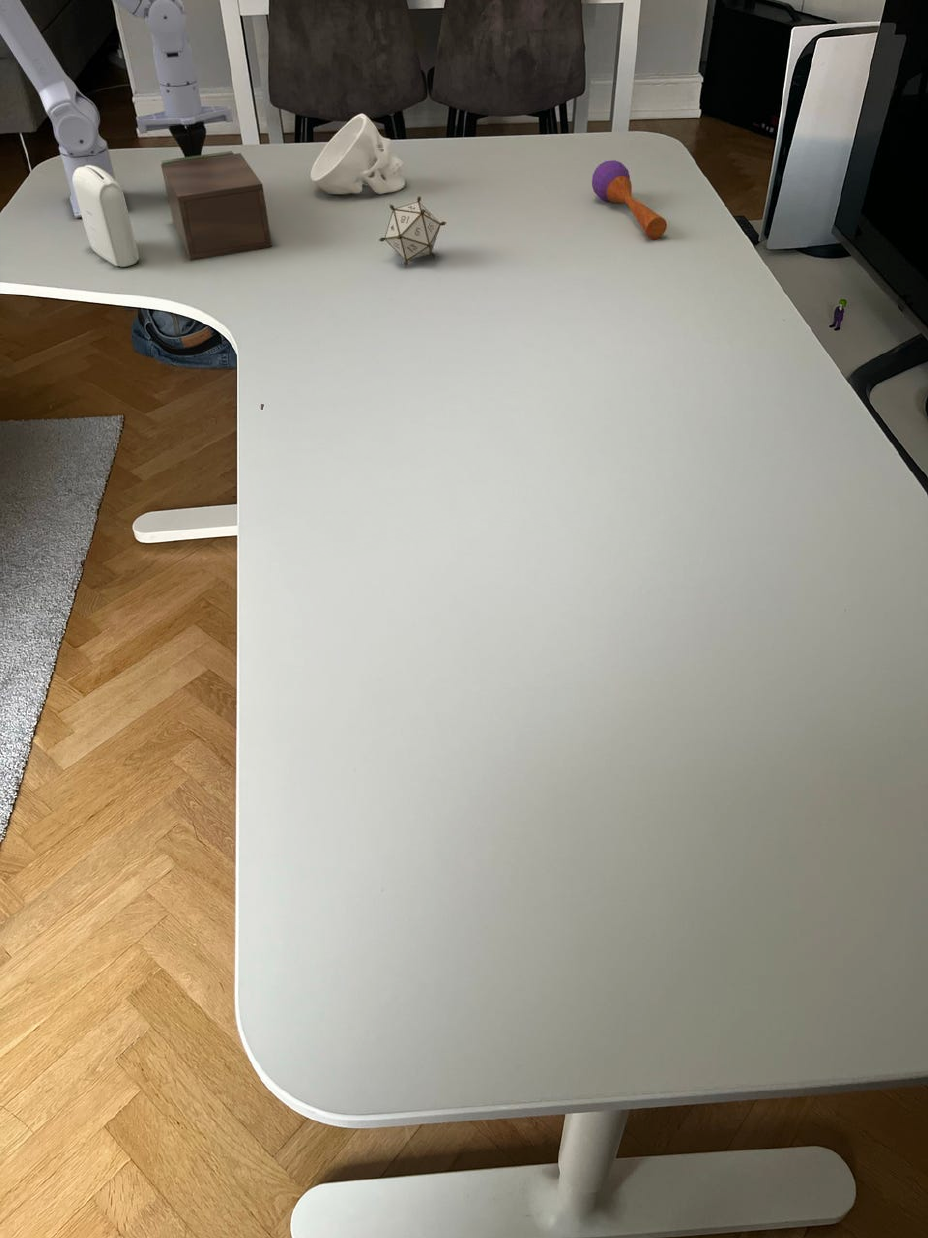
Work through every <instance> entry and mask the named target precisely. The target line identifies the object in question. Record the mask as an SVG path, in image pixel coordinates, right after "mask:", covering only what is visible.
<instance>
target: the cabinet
mask: <svg viewBox="0 0 928 1238" xmlns="http://www.w3.org/2000/svg"><path fill="white" fill-rule="evenodd" d="M160 167H161V171H162V177H163V181H164V186H165V190H166V191H165V192H166V195H167V200H168V204H169V205H168V206H169V208H170V213H171V214H170V215H171V219H172V223H173V227H174V228H175V231H176V233H177V235H178V237H179V239H180V241H181V243H182V245H183V247H184V250H185V252H186V254H187V256H188V258H189V260H190V261H194V260H200V259H206V258H212V257H218V256H219V257H220V256H224V255H229V254H236V253H242V252H249V251H254V250H261V249H265V248H271V247H272V245H273V244H272V238H271V232H270V225H269V219H268V213H267V205H266V199H265V198H266V197H265V192H264V186H263V183H262V181H261V180H260V179H259V177H258V176H257V174H256V172H255V171H254V170H253V168H252V167H251V166H250V164H249V163H248V162H247V160H246V158H245V157H244V156H243V155H242V153H241V152H238V153H233V154H230V155H223V156H216V157H209V158H201V159H194V160H187V161H180V162H173V163H166V164H162V163H161V164H160Z"/></svg>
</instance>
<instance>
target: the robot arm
mask: <svg viewBox="0 0 928 1238" xmlns="http://www.w3.org/2000/svg"><path fill="white" fill-rule="evenodd" d="M111 1H112V2H114V3H115V4H117V5H118V7H120V8H122V9H123V10H125V11H126V12H127V13H128V14H130V15H132V16H133V17H135V18H136V19H137V18H138V19H143V20H144V24H145V26H146V28H147V30H148V31H149V33H150V37H151V42H152V46H153V47H152V51H151V52H152V57H153V61H154V66H155V71H156V77H157V81H158V85H159V86H158V87H159V91H160V95H161V101H162V106H163V110H162V111H158V112H154V113H149V114H146V115H141V116H140V115H139V116H136V117H135V120H136V123H137V128H138V131H139V133H140V134H141V135H142V134H147V133H148V132H153V131H154V132H155V131H160V130H161V131H162V130H169V133H170V135H171V136H172V137H173V139H174V141H175V142H176V144H177V145H178V147H179V148H180V150H181V153H182V154H183V156H184V157H191V156H198V155H203V154H202V153H203V147H204V143H205V140H206V137H207V128H206V126H205V125H206V124H213V123H222V122H226V123H232V122H234V118H233V111H232V108H231V107H230V105H228V104H227V105H211V106H210V105H209V106H207V105H205V106H203V105H202V101H201V95H200V90H199V83H198V79H197V73H196V67H195V62H194V56H193V50H192V47H191V44H190V43H189V42H190V38H189V37H190V36H189V33H188V31H187V26H188V25H187V24H188V17H187V15H186V12H185V7H184V3H183V1H182V0H111ZM0 36H1V37H2V38H3V40H4V42H5V43H6V45H7V46H8V48H9V50H10V51H11V52H12V54H13V56H14V57H15V59H16V60H17V62H18V64H20V66H21V69H22V70H23V71H24V73H25V74H26V76H27V78H28V79H29V81H30V82H31V84H32V85H33V87H34V88H35V90H36V91H37V93H38V95H39V97H40V100H41V102H42V106H43V108H44V110H45V113H46V115H47V116H48V118H49V119H50V121H51V123H52V127H53V134H54V138H55V139H56V142H57V143H58V144H59V145H58V150H59V154H60V158H61V161H62V165H63V168H64V172H65V176H66V179H67V183H68V187H69V190H70V194H71V195H69V200H70V204H71V208H72V210H73V214H74V217H75V218H77V219H78V218H82V215H81V211H80V208H79V204H78V201H77V197H76V193H75V190H74V186H73V181H72V178H73V174H74V172H75V170H76V169H77V168H79V167H84V166H86V165H92V166H96V167H98V168H100V169H102V170H104V171H105V172H107V173H108V174H109V175H110V176H111V177H112V178H113V179H114V180H115V181H116V182H117V179H116V175H115V171H114V166H113V163H112V158H111V154H110V151H109V146H108V143H107V141H106V140H105V139H103V138H102V137H101V134H99V126H100V123H101V117H100V116H101V115H100V112H99V110H98V108H97V106H96V104H95V103H94V102H93V101H92V100H90V99H89V98H88V97H87V96H85V94H83V93H82V92H81V91H80V89H79V88H78V87H77V85H76V84H75V82H74V81H73V80H72V79H71V78H70V77H69V76H68V75H67V74H66V73H65V71H64V69H63V68H62V66H61V64H60V63H59V61H58V60H57V57H56V56H55V54H54V53H53V51H52V49H51V48H50V47H49V45H48V44H47V42H46V40H45V38H44V37H43V35H42V34H41V32H40V30H39V28H38V27H37V25H36V24H35V22H34V20H33V19H32V18H31V15H30V14H29V13H28V11H27V9H26V8H25V6H24V5H23V3H22V1H21V0H0Z"/></svg>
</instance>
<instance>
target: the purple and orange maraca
mask: <svg viewBox="0 0 928 1238" xmlns="http://www.w3.org/2000/svg"><path fill="white" fill-rule="evenodd" d="M594 169H595V170H594V171H593V174H592V178H591V187H592V190H593V193H594V194H595V195H596V196H597V197H598V198H599V200H602V201H605V202H611V203H613V204H622V203H623V204H626V205H627V207H628V208H629V210H630V212H631V213H632V215H633V216H634V218H635V219H636V221H637V222H638V224H639V226H640V227H641V228H642V231H643V232H644V234H645V235H646V237H647V238H648V239H649V240H658V239H660V238H662V237H663V235H664V234H665V232H666V231H667V228H668V227H667V226H668V223H667V220H666V219H665V217H662V216H661V215H659V214H658V213H656V212H655V211H653V210H652V209H651V208H649V207H648V206H646V205H645V204H643V203H642V202H641V201H639V200H638V199H636V198H634V197H633V196H632V195H633V194H632V192H633V191H632V190H633V189H632V188H633V187H632V185H633V184H632V181H631V175H630V171H629V169H628V168H627V167H626V166H625V165H624V163H622V162H621V161H618V160H616V159H613V160H605V161H603V162H601V163H599V164H598V165H597V167H596V168H594Z"/></svg>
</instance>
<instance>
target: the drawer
mask: <svg viewBox="0 0 928 1238" xmlns="http://www.w3.org/2000/svg"><path fill="white" fill-rule="evenodd" d="M230 154H234V152H233V151H232V150H228V151H219V152H214V153H212V152H211V153H207V154H205V153H204V154H201V155H198V156H191V157H185V156H184V157H177V158H170V159H162V160H161V164H166V163H173V162H180V161H187V160H194V159H201V158H209V157H216V156H223V155H230Z"/></svg>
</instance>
